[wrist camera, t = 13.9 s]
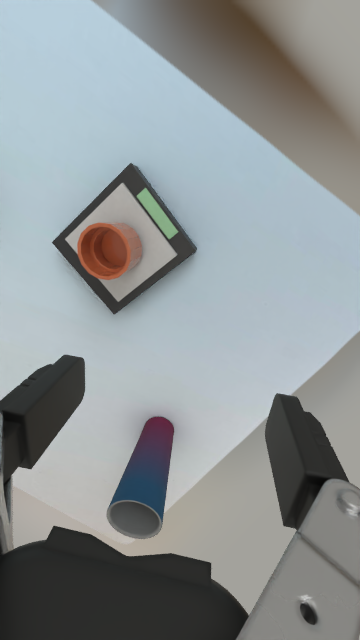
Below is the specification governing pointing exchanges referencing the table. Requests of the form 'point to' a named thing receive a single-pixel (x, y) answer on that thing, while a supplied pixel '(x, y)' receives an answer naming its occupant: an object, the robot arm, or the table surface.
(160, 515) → the cup
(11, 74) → the table surface
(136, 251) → the flower pot
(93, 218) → the scale
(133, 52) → the table surface
